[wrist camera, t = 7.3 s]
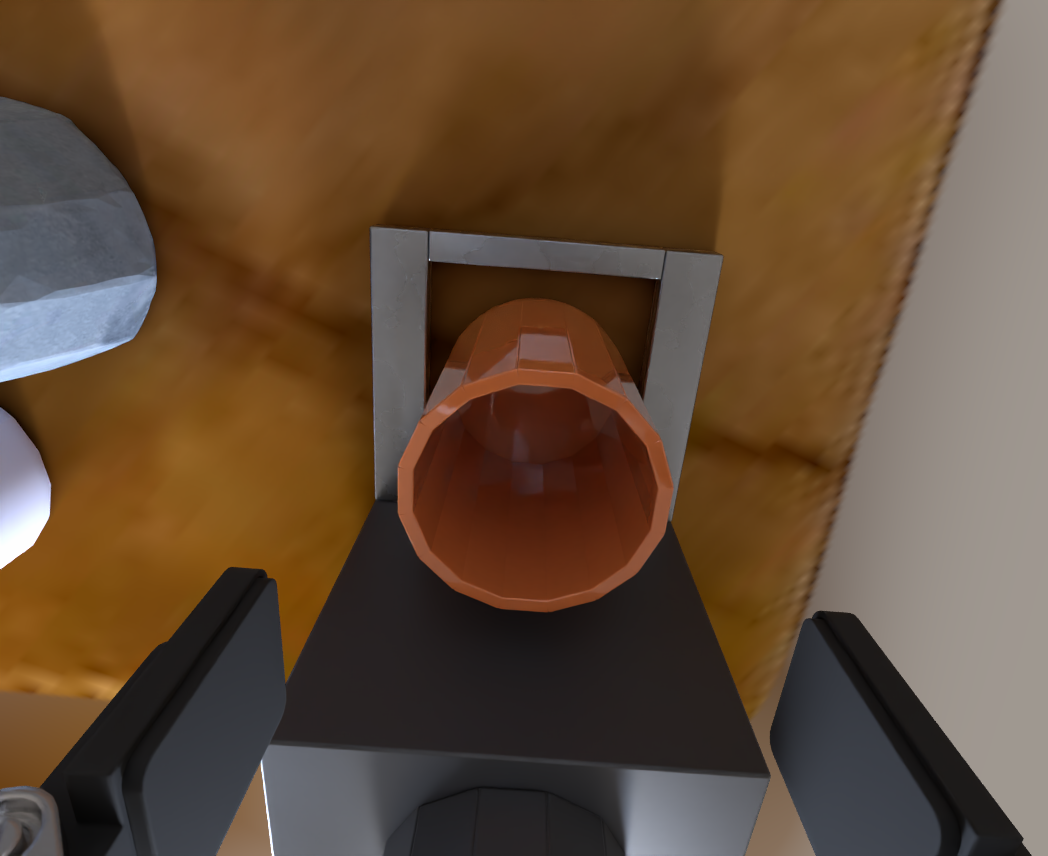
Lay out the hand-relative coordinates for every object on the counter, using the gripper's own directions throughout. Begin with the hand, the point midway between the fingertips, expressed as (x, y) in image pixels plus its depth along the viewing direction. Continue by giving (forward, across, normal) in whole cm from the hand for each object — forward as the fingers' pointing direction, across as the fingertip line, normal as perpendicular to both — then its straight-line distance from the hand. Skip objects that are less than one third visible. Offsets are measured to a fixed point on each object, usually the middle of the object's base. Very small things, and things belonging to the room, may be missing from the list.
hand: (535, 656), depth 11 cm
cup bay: (+14, 0, -1) cm, 14 cm away
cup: (+14, 0, -1) cm, 14 cm away
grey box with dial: (+14, 0, +8) cm, 16 cm away
